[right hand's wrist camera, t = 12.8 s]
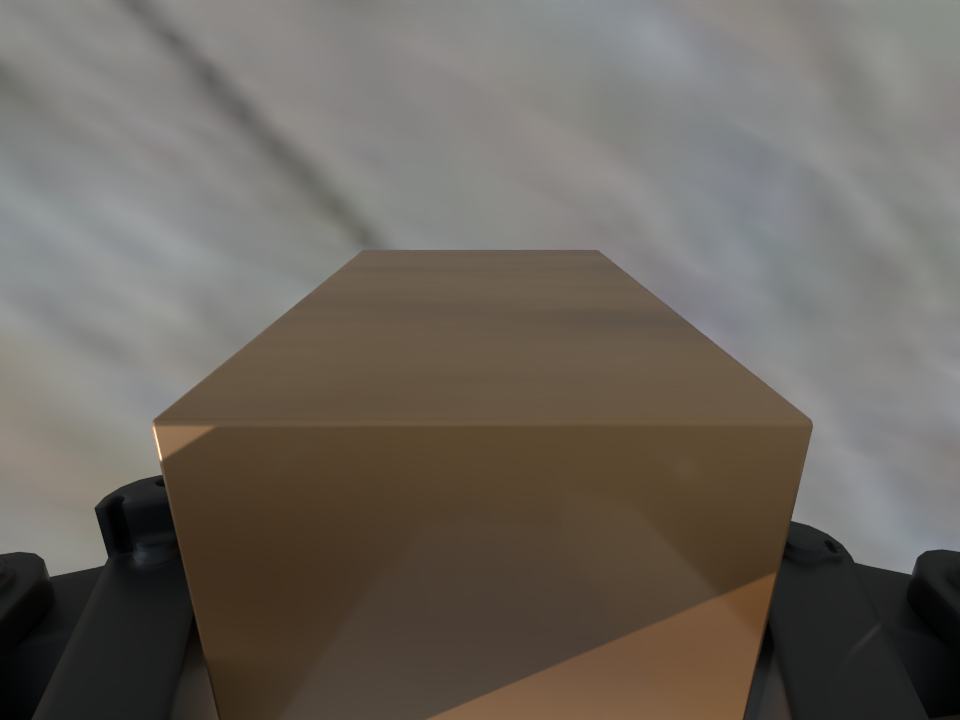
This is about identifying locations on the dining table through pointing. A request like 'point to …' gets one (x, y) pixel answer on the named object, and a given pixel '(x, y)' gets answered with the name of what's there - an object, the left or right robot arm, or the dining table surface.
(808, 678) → the right robot arm
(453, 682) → the bar
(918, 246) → the dining table surface
